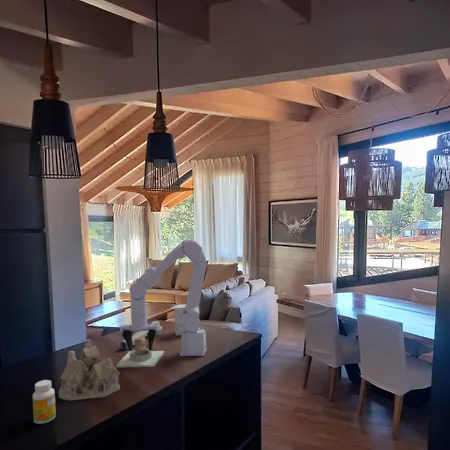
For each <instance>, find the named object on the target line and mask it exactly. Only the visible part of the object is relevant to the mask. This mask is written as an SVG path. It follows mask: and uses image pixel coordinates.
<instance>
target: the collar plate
mask: <svg viewBox="0 0 450 450" xmlns="http://www.w3.org/2000/svg"><path fill="white" fill-rule="evenodd" d="M163 353H164V354H165V351H164V350H151V351H149V348H146V354H144V355H135V349H134V350H131V351H129V350H128V352H127V354H125V355H124V356H123V357H122V359H120V360H119V361H118V362H117V364H115V367H116V368H154V367H155V366H156V365H157V363H158V362H159V361H160V360H161V358H162V357H163V355H164V354H163Z"/></svg>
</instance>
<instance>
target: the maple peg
mask: <svg viewBox="0 0 450 450" xmlns="http://www.w3.org/2000/svg"><path fill="white" fill-rule="evenodd" d="M146 341H147V340H146V337H144V338H136V339H135V345H134V350H135V355H144V354H146V349H147V348H146V347H147V345H146V344H147V343H146Z"/></svg>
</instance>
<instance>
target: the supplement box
mask: <svg viewBox="0 0 450 450" xmlns="http://www.w3.org/2000/svg"><path fill="white" fill-rule="evenodd" d="M186 304H187V303H186ZM186 304H185V303H183V304H176V305H175V307H174V308H173V313H174V328H175V329H174V330H175V331H174V333H175V336H181V329H182V327H183V324H182V323H181V321H180V317H181V314H182V313H183V312H184V308H185V306H186Z"/></svg>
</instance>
